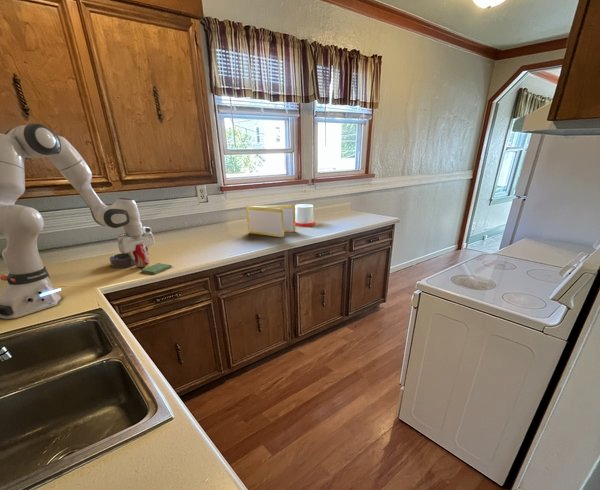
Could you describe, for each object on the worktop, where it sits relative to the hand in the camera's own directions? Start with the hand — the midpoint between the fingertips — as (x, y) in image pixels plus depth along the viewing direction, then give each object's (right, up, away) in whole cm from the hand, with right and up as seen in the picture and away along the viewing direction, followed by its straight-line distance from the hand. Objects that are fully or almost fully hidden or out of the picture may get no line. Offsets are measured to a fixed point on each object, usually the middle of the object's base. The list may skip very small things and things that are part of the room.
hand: (140, 257), depth 174 cm
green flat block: (+10, -7, -2) cm, 12 cm away
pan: (-12, -3, +6) cm, 13 cm away
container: (+89, +45, +94) cm, 137 cm away
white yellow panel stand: (+66, +28, +63) cm, 95 cm away
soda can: (0, -4, +2) cm, 5 cm away
